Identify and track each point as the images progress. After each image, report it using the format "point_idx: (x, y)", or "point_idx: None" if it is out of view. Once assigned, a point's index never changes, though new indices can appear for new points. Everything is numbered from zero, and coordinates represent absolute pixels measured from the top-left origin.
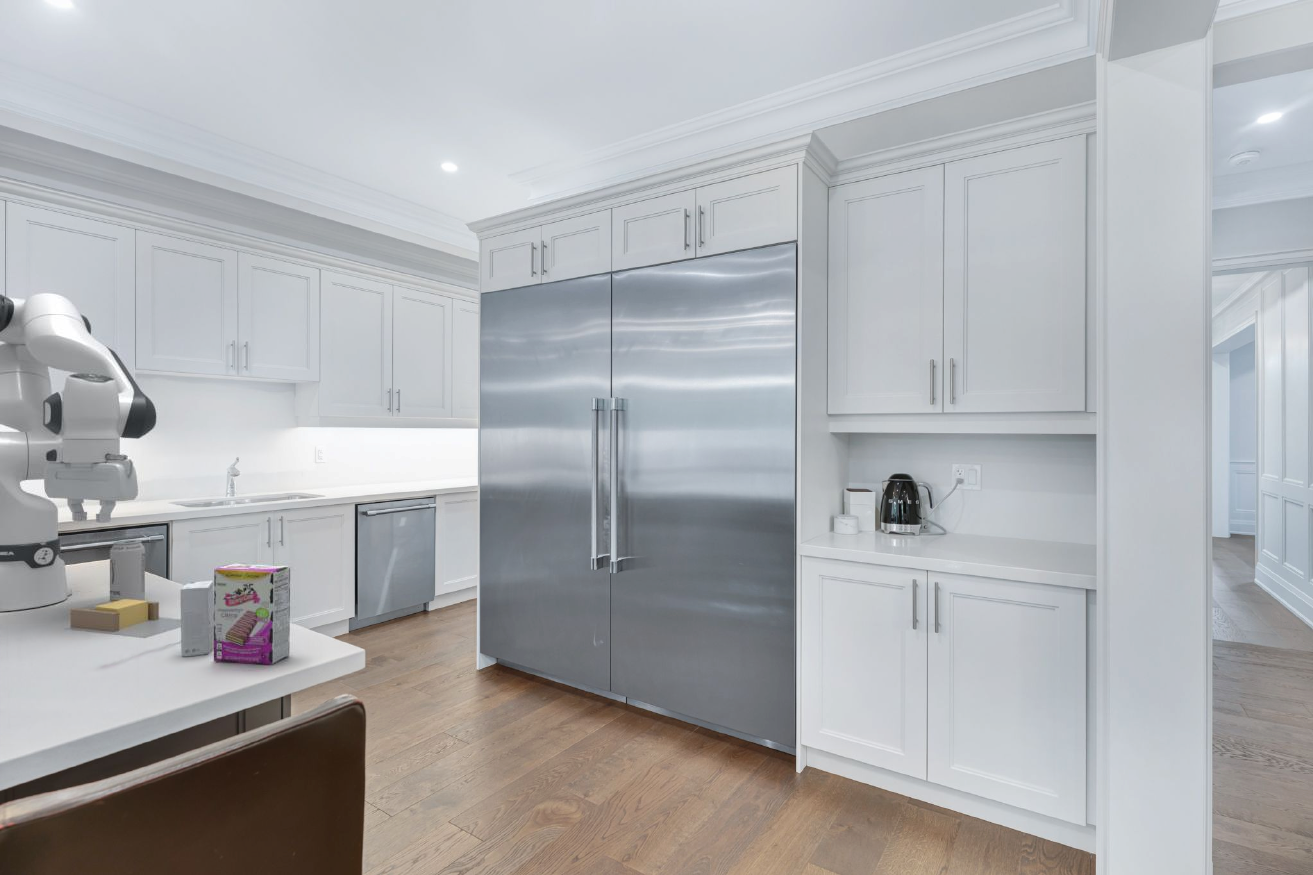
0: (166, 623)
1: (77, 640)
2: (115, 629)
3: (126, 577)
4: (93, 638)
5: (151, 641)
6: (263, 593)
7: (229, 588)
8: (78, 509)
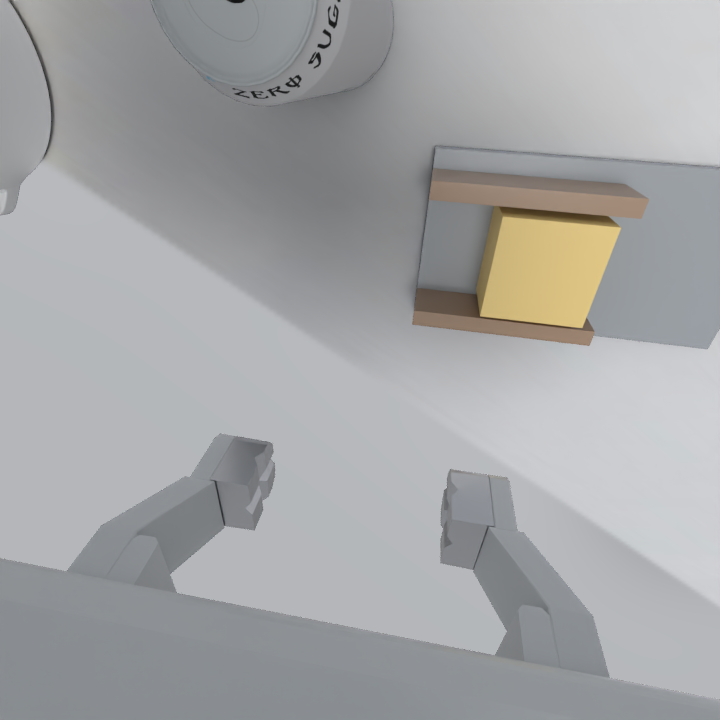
0: (690, 224)
1: (496, 343)
2: None
3: (356, 71)
4: None
5: None
6: None
7: None
8: (201, 521)
